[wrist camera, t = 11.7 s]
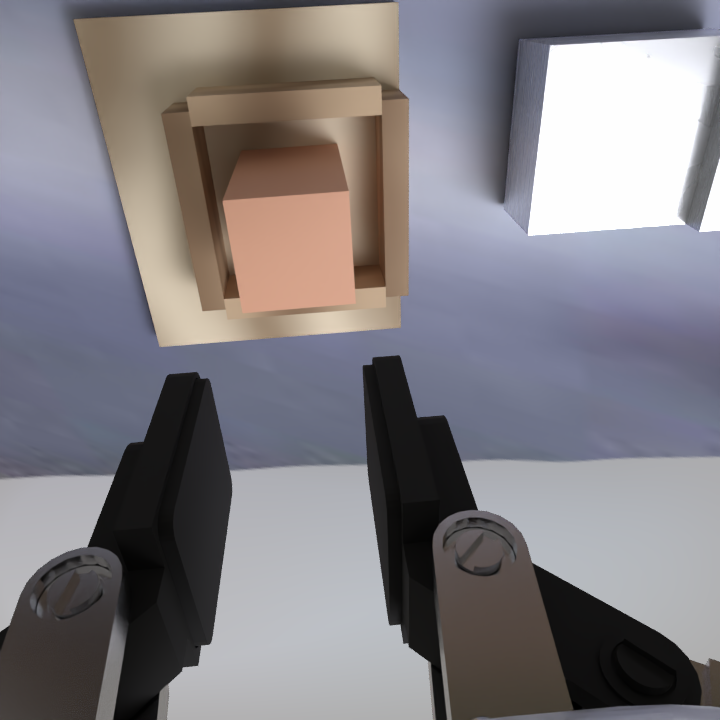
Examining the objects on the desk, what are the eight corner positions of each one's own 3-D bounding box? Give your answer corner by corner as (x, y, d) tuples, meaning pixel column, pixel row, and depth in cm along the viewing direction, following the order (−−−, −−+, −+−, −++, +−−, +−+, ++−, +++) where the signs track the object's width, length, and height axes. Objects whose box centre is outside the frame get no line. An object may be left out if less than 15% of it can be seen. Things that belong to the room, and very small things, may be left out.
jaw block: (337, 143, 24) (348, 191, 19) (343, 235, 27) (355, 303, 21) (241, 150, 24) (222, 200, 18) (255, 242, 26) (242, 313, 20)
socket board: (394, 2, 23) (408, 3, 20) (397, 318, 30) (408, 353, 27) (81, 18, 22) (48, 22, 19) (163, 336, 30) (148, 374, 27)
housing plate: (709, 28, 24) (786, 35, 20) (669, 197, 28) (727, 229, 24) (518, 39, 24) (560, 47, 20) (503, 209, 27) (536, 244, 24)
